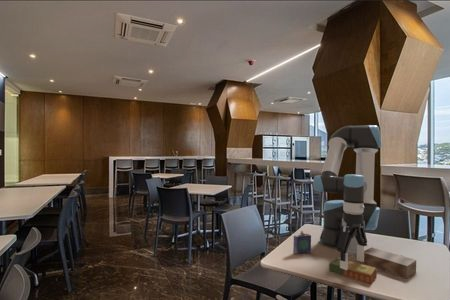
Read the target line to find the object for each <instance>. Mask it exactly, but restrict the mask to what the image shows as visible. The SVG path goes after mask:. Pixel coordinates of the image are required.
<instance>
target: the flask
mask: <svg viewBox="0 0 450 300" xmlns="http://www.w3.org/2000/svg"><path fill="white" fill-rule="evenodd" d="M311 247H312V235H311V234H310V233H304V231H303V230H300V233H299V234H295V235H293V252H292V254H293V255H297V256H299V255H309V254H312V253H311V251H312V249H311Z"/></svg>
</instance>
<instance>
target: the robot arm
mask: <svg viewBox="0 0 450 300" xmlns="http://www.w3.org/2000/svg"><path fill="white" fill-rule="evenodd" d="M327 144H328V150H327V153H326V157H325V160H324V164H323V166H322V170H321V173H320V174H319V175H315V176H314V177H313V181H312V184H313V185H312V187H313V189H314V191H315V192H321V193H331V194H340V195H341V194H342V195H343V199H334V200H333V199H332V200H328V201H325V202H324V203H323V223H322V224H323V228H322V231H321V234H320V235H319V243H320V244H321V245H323V246H325V247H329V248H333V249H336V251H337V252H339V258H340V268H342V269H345V270H348V261H349V260H348V259H349V255H348V253H346V252H347V250H348V247H349V244H350V242H351V239H352V238H354V236H355V238H356V240H357V242H358V244H359V245H357V256H356V261H358V262H364V251H365V247H368V239H367V235H366V231H367V230H369V231H370V230H371V231H374V230H376V229H377V227H378V224H379V223H378V222H379V218H380V211H381V208H380V207H379V206H377V202H376V201H375V200H374V197H375V196H374V194H375V193H374V192H375V190H374V189H375V159H376V158H375V157H376V156H375V154H376V153H378V152H379V148H382V139H381V132H380V127H379V126H378V125H372V124H367V125H346V126H342V127H341V128H339V129H336V131H335V132H334V133H333V134H332V135H331V137H330V138H329V140H328V143H327ZM347 148H353V151H354V152H355V153H356V161H355V162H356V163H355V174H353V173H351V174H349V173H348V174H345V175H344V176H339V173H340V168H341V165H342V161H343V156H344V152H345V150H347ZM342 219H343V221H344V222H346V227H345V226H342ZM363 221H365V230H366V231H365V230H364V223H363ZM363 239H364V240H363Z"/></svg>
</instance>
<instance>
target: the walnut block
mask: <svg viewBox="0 0 450 300" xmlns="http://www.w3.org/2000/svg"><path fill="white" fill-rule="evenodd" d="M360 262H361V261H360ZM360 264H364V265H367V266H371V267H375V268H377V269H378V270H381V271H383V272H386V273H389V274H393V275H395V276H398V277H401V278H404V279H409V278H411V276H413V275H414V274H416V273H417V259H414V258H410V257H406V256H404V255H399V254H397V253H392V252H390V251H386V250H382V249H378V248H374V247H370V248H367V249H364V262H361V263H360Z"/></svg>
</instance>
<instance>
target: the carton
mask: <svg viewBox="0 0 450 300" xmlns="http://www.w3.org/2000/svg"><path fill="white" fill-rule="evenodd" d="M328 267H329V268H328V271H329V272H330V273H333V274H337V275H340V276H343V277H347V278H349V279H353V280H356V281H359V282H363V283H365V284H369V285H372V284H373V283H374V282H375V280H376V279H377V276H378V275H377V274H378V270H377V268H375V267H371V266H368V265H365V264H362V263H359V262H355V261H351V260H348V270H345V269H342V268H340V257H335V258H334V259H332V261H330V263H329V266H328Z"/></svg>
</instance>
